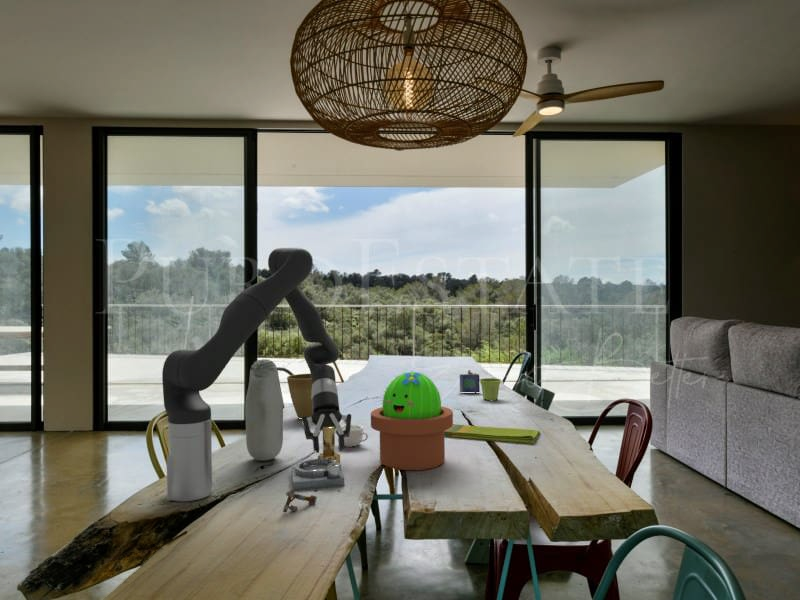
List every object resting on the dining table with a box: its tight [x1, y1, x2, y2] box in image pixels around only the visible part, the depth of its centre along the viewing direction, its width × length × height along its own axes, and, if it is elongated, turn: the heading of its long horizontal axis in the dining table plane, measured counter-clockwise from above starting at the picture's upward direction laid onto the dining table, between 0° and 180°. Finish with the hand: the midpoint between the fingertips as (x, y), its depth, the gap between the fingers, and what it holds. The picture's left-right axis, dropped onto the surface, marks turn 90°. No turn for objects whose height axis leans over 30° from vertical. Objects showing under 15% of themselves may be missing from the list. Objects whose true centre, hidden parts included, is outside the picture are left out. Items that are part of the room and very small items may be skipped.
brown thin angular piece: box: [282, 489, 318, 514], centre depth 116 cm, size 2×8×4 cm, turn 139°
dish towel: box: [444, 423, 541, 445], centre depth 177 cm, size 15×36×3 cm, turn 68°
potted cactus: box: [370, 370, 454, 471], centre depth 149 cm, size 22×22×25 cm
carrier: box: [291, 458, 345, 491], centre depth 135 cm, size 12×13×6 cm
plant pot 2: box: [479, 377, 502, 401], centre depth 237 cm, size 9×9×9 cm
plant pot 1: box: [286, 373, 313, 418], centre depth 205 cm, size 15×15×16 cm
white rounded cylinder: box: [244, 359, 284, 462], centre depth 152 cm, size 10×10×28 cm
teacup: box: [340, 424, 369, 448], centre depth 165 cm, size 10×8×5 cm
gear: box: [317, 426, 341, 464], centre depth 147 cm, size 6×6×10 cm
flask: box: [459, 370, 481, 393], centre depth 254 cm, size 9×3×11 cm, turn 84°
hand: (329, 450), depth 145 cm, fingers open, 5 cm apart
